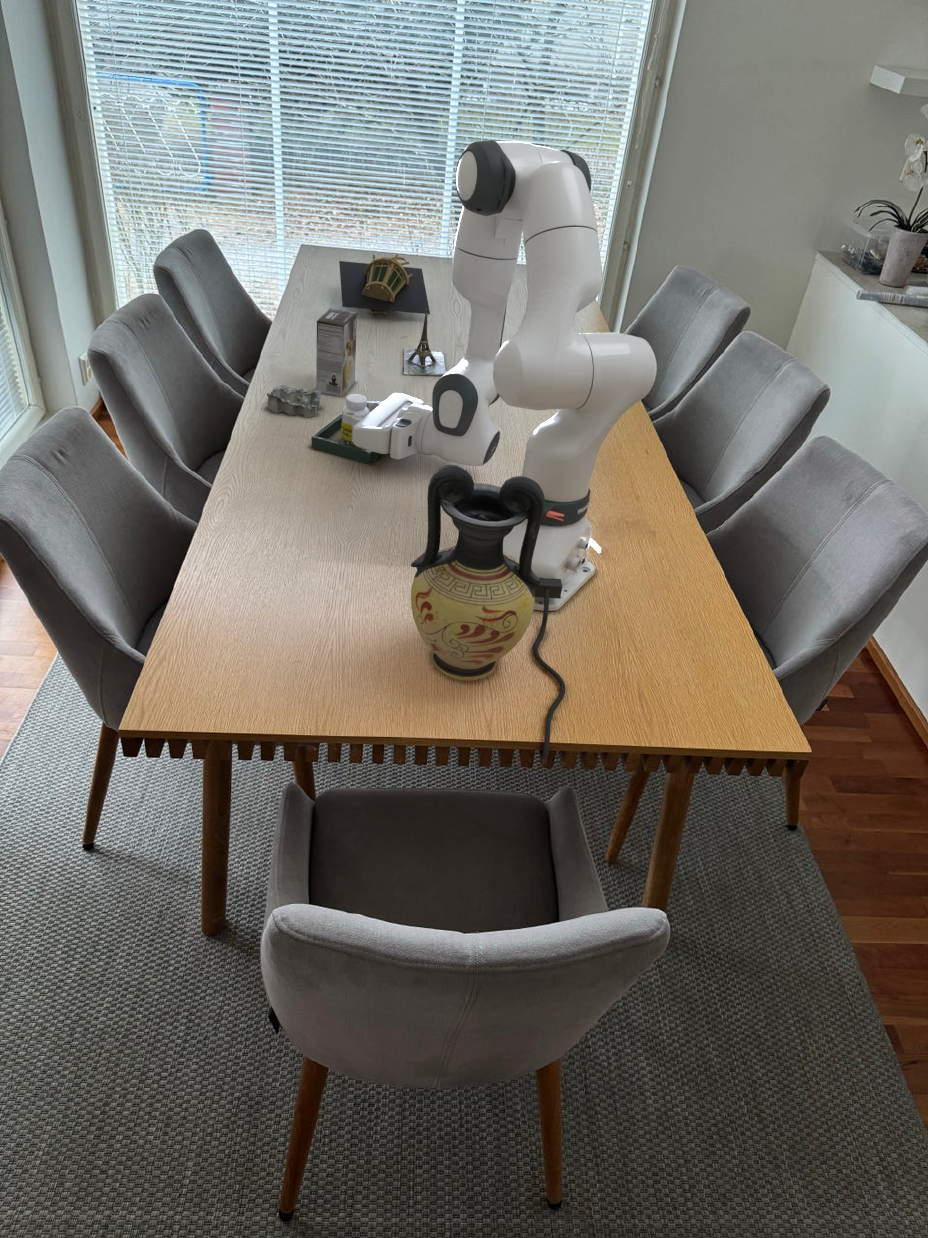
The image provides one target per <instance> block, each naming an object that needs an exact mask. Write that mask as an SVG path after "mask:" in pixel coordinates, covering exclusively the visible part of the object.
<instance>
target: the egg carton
mask: <svg viewBox="0 0 928 1238" xmlns="http://www.w3.org/2000/svg"><path fill="white" fill-rule="evenodd" d="M321 396H322V393H321V390H318V391H316V389H314V390H311V389H307V390H306V388H304V387H303V388H300V387H299V388H298V387H290V386H288V385H286V384H285V385H284V384H281V385H277V386H275V387H273V388H272V390H271V391H270V393H269V392H267V393H266V397H267V409H268V410H269V411H271V412H272V413H274V414H278V413H280V412H281V413H287V414H288V415H289V416H295V415H302V416H303V417H304V418H311V417H316V416H317V414H318V409H320V408H321Z"/></svg>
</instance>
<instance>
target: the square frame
mask: <svg viewBox="0 0 928 1238" xmlns="http://www.w3.org/2000/svg"><path fill="white" fill-rule="evenodd" d="M341 429H342V413H341V414H340V415H338V416H336V418H334V419H333V420H332V421H330V422H329V423H327V424H326V425H325V426H324V427H322V428H321V429H320V430H319V431H317V432H316V433H315V434H313V435H312V436H311V449H314V450H317V451H321V452H325V453H327V454H331V455H336V456H339V457H341V458H346V459H349V460H354V461H357V462H360V463H364V464H367V465H371V464H372V463H373V462H374V461H375V460H376V459H377V458H378V457H379V456H381V455H382V454H381V453H376V452H373V451H369V450H366V449H363V448H362V449H361V448H357V447H353V446H350V445H346V444H342V443H341V442H339V441H335V440H331V439H330V438H331V437H333V435H335V434H336V433H337V432H338V431H340V430H341Z"/></svg>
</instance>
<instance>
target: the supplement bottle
mask: <svg viewBox="0 0 928 1238" xmlns="http://www.w3.org/2000/svg"><path fill="white" fill-rule="evenodd" d="M367 401H368V399H367V397H366V396H365V395H363V394H360V393H351V394H348V395H347V396H346V398H345V406H344V407H343V408H342V410H341V414H342V419H343V415H344V414H345V413H347V412H349V413H353V414H354V416H355V417H357V418H364V417H365V416H367V415H368V414H369V413H370V412H369V409H368V408H367V407H366V406H367ZM352 429H353V427H352V426H351V425H349V424H345V423H343V421H342V428H341V429H340V430H341V431H340V432H341V433H340V443H342V444H346V445H350V446H353V447H357V448H360V447H358V446H356V445H355V444H354V443H353V442H352ZM361 449H363V448H361Z"/></svg>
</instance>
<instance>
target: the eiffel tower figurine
mask: <svg viewBox="0 0 928 1238" xmlns="http://www.w3.org/2000/svg"><path fill="white" fill-rule="evenodd" d="M428 315H429V314H428V313H427V310H426V313H425V314H424V320H423V327H422V332H421V337H420V339H419V343H418V345H417V347H416V348H414V349H413V348H403V364H404V365H403V375H415V376H417V375H418V376H425V375H426V376H427V375H444V374H446V373H447V371H446V369H447V368H446V363H445V355H444V352H442V351H432V349H431V348H430V345H429V340H428Z"/></svg>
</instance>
